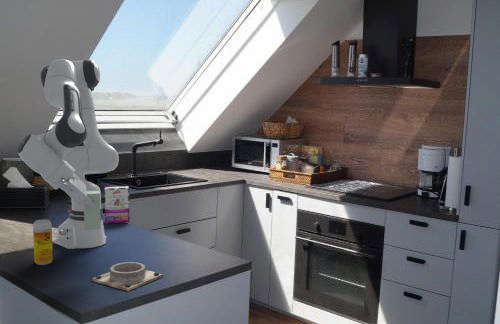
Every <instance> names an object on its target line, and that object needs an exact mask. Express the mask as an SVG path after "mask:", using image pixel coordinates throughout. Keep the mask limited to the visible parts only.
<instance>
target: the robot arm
mask: <svg viewBox="0 0 500 324" xmlns="http://www.w3.org/2000/svg"><path fill="white" fill-rule="evenodd" d="M100 80H101V71H100V67H99V66H98V64H97V62H96V61H94V60H93V59H83V60H82V59H81V60H67V59H65V58H59V59H54V60H53V61H52V62H51V63H50V64H49V65H47V66H44V67H43V68H42V69H41V71H40V81H41V84H42V88H43V94H44V99H45V100H46V101H47V103H49V105H51V106H53V107H55V108H58V109H62V116H61V117H60V118H59V120H58V121H57V122H56V123H55V124H54V125H53V126H52V127H51V128H50V129H49V130H48V131H46V132H43V133H40V134H31V133H30V134H28V135H26V137H25V138H24V139H22V141H21V143H20V144H19V146H18V148H17V155H18V156H19V157H20V159H21V160H22V161H23V162H24V163H25V164H26V165H27V167H28V168H30V169H31V170H32V171H33V172H35V173H37V174H39V175H40V176H41V178H42V179H43V180H44V181H45V182H46V183H47V184H49V186H51V187H52V188H53V189H54V190H58V189H61V190H62V191H63V192H65V193H66V194H67V195H68V197H70V199H71V209H68V210H67V209H66V210H67V214H69V216H68V218H67V219H66V220H65V221H64V222H62V223H61V224H59V226H58V228H57V234H56V235H57V236H54V237H52V244H56V245H58V246H61V247H63V248H65V249H67V250H75V249H90V248H91V249H92V248H97V247H101V246H102V245H105V244H106V243H107V235H105V226H104V220H103V219H102V217H103V207H102V195H101V194H102V192H101V189H100V187H99V186H98V185H97V184H95V183H93V182H91V181H88V180H87V179H86V177H85V175H88V174H89V175H90V174H105V173H109V172H111V171H112V172H113V171H114V170H116V168H117V167H118V165H119V161H120V159H119V158H120V157H119V156H120V155H119V153H118V151H117V150H116V149H115V148H114V147H113V146H112V145H111V144H109V143H108V142H107V141H106V140H105V138H103V136H102V135H101V133H100V131H99V128H98V123H97V118H96V107H95V103H94V99H93V94H92V92H94V90H95V89H96V88H97V87H98V85H99V83H100ZM82 144H83V145H82ZM87 191H99V192H100V225H101V229H96V230H85V227H84V203H85V204H87V205H88V206H90V207H91V208H94V207H95V206H96V204H95V203H94V202H93V201H92V200H91V199H89V198H88V196H87Z"/></svg>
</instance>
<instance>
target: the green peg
mask: <svg viewBox="0 0 500 324" xmlns="http://www.w3.org/2000/svg"><path fill="white" fill-rule="evenodd" d="M87 196H88V198H89V199H91V200H92V201H93V202H94V203H95V204H96V206H95V207H94V208H91V207H90V206H88V205H87V204H85V203H84V227H85V230H96V229H101V225H100V192H99V191H87Z"/></svg>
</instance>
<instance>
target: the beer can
mask: <svg viewBox="0 0 500 324" xmlns="http://www.w3.org/2000/svg"><path fill="white" fill-rule="evenodd" d="M32 228H33V229H32V234H33V256H34V263H35V264H36V265H38V266H45V265H49V264H51V263H52V261H53V260H54V256H53V254H54V253H53V242H52V238H53V229H52V228H53V227H52V222H51V220H50V219H36V220H35V221H33V224H32Z"/></svg>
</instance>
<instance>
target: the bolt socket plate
mask: <svg viewBox="0 0 500 324" xmlns="http://www.w3.org/2000/svg"><path fill="white" fill-rule="evenodd" d="M146 267H147V266H146V265H145V264H144V263H141V262H137V261H136V262H135V261H131V262H130V261H127V262H119V263H116V264H113V265H112V266H111V267H110V268H109V271H108V272H106V273H103V274H101V275H96V276H95V277H92V278H91V282H95V283H98V284H102V285H104V286H109V287H112V288H115V289H119V290H121V291H122V290H123V291H126V292H130V291H132V290H135V289H136V288H140V287H142V286H144V285H147V284H149V283H151V282H154V281H156V280H158V278H159V279H161V278H163V277H164V274H163V273H160V272H157V271H151V270H147V269H146Z"/></svg>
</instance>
